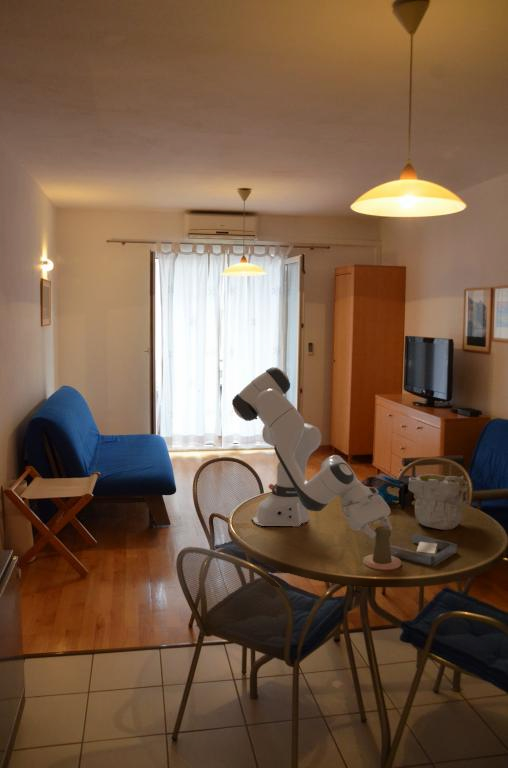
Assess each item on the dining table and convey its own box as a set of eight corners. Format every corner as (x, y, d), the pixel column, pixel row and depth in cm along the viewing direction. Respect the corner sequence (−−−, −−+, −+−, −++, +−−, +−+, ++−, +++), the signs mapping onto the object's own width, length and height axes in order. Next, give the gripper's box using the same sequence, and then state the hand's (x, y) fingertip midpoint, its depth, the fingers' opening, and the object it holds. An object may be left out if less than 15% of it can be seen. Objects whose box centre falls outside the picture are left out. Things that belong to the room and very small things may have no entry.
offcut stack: (415, 560, 215) (415, 552, 214) (419, 549, 225) (419, 541, 225) (434, 563, 212) (434, 554, 212) (437, 552, 223) (437, 543, 222)
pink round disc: (372, 571, 204) (372, 569, 204) (357, 557, 216) (357, 555, 216) (407, 568, 207) (407, 565, 207) (391, 554, 219) (391, 552, 219)
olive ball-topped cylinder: (391, 564, 208) (392, 531, 207) (372, 563, 209) (373, 529, 208) (391, 557, 214) (392, 525, 213) (372, 556, 215) (373, 523, 214)
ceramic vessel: (411, 488, 271) (449, 447, 260) (453, 533, 261) (495, 492, 250) (385, 499, 254) (425, 455, 242) (430, 548, 243) (474, 504, 232)
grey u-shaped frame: (389, 554, 219) (389, 546, 219) (413, 541, 231) (413, 533, 231) (433, 566, 208) (433, 557, 208) (456, 552, 221) (456, 543, 221)
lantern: (410, 521, 275) (354, 509, 288) (420, 488, 282) (365, 477, 295) (402, 504, 263) (345, 492, 276) (413, 469, 271) (356, 459, 283)
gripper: (345, 499, 207) (371, 536, 202) (378, 487, 222) (403, 520, 217) (333, 510, 210) (359, 547, 205) (366, 497, 226) (391, 531, 220)
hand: (382, 533), depth 211 cm, fingers open, 8 cm apart
